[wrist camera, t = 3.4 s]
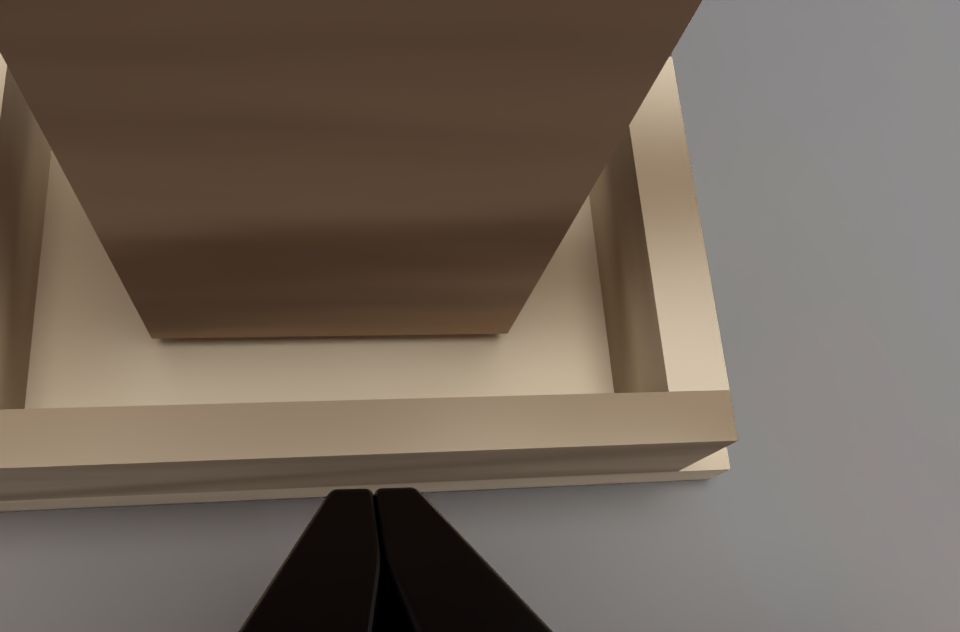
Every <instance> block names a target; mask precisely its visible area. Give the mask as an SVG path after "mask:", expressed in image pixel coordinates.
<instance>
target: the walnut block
mask: <svg viewBox="0 0 960 632" xmlns="http://www.w3.org/2000/svg"><path fill="white" fill-rule="evenodd" d="M701 1H702V0H0V53H1V55H2V57H3V59H4V60H5V62H6V64H7V66H8V68H9V70H10V72H11V74H12V76H13V77H14V79H15V81H16V83H17V85H18V87H19V89H20V91H21V93H22V94H23V96H24V98H25V100H26V102H27V104H28V106H29V108H30V110H31V111H32V113H33V115H34V117H35V119H36V121H37V123H38V125H39V127H40V128H41V130H42V132H43V134H44V136H45V138H46V140H47V142H48V144H49V145H50V147H51V149H52V151H53V153H54V155H55V157H56V159H57V161H58V162H59V164H60V166H61V168H62V170H63V172H64V174H65V176H66V178H67V179H68V181H69V183H70V185H71V187H72V189H73V191H74V193H75V195H76V196H77V198H78V200H79V202H80V204H81V206H82V208H83V210H84V211H85V213H86V215H87V217H88V219H89V221H90V223H91V225H92V227H93V228H94V230H95V232H96V234H97V236H98V238H99V240H100V242H101V244H102V245H103V247H104V249H105V251H106V253H107V255H108V257H109V259H110V261H111V262H112V264H113V266H114V268H115V270H116V272H117V274H118V276H119V278H120V279H121V281H122V283H123V285H124V287H125V289H126V291H127V293H128V295H129V296H130V298H131V300H132V302H133V304H134V306H135V308H136V310H137V312H138V313H139V315H140V317H141V319H142V321H143V323H144V325H145V327H146V329H147V330H148V332H149V334H150V336H151V338H152V339H159V338H230V337H301V336H372V335H443V334H508V332H509V331H510V329H511V327H512V325H513V324H514V322H515V320H516V319H517V317H518V315H519V313H520V312H521V310H522V308H523V307H524V305H525V303H526V301H527V300H528V298H529V296H530V295H531V293H532V291H533V289H534V288H535V286H536V284H537V283H538V281H539V279H540V277H541V276H542V274H543V272H544V271H545V269H546V267H547V265H548V264H549V262H550V260H551V259H552V257H553V255H554V253H555V252H556V250H557V248H558V247H559V245H560V243H561V241H562V240H563V238H564V236H565V235H566V233H567V231H568V229H569V228H570V226H571V224H572V223H573V221H574V219H575V217H576V216H577V214H578V212H579V211H580V209H581V207H582V205H583V204H584V202H585V200H586V199H587V197H588V195H589V193H590V192H591V190H592V188H593V187H594V185H595V183H596V181H597V180H598V178H599V176H600V175H601V173H602V171H603V169H604V168H605V166H606V164H607V163H608V161H609V159H610V157H611V156H612V154H613V152H614V151H615V149H616V147H617V145H618V144H619V142H620V140H621V139H622V137H623V135H624V133H625V132H626V130H627V128H628V127H629V125H630V123H631V121H632V120H633V118H634V116H635V115H636V113H637V111H638V109H639V108H640V106H641V104H642V103H643V101H644V99H645V97H646V96H647V94H648V92H649V91H650V89H651V87H652V85H653V84H654V82H655V80H656V79H657V77H658V75H659V73H660V72H661V70H662V68H663V67H664V65H665V63H666V61H667V60H668V58H669V56H670V55H671V53H672V51H673V49H674V48H675V46H676V44H677V43H678V41H679V39H680V37H681V36H682V34H683V32H684V31H685V29H686V27H687V25H688V24H689V22H690V20H691V19H692V17H693V15H694V13H695V12H696V10H697V8H698V7H699V5H700V3H701Z"/></svg>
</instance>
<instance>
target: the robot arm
mask: <svg viewBox="0 0 960 632" xmlns="http://www.w3.org/2000/svg"><path fill="white" fill-rule="evenodd" d="M239 632H553V631H552V630H551V629H550V628H549V627H548V626H547V625H546V624H545V623H544V622H543V621H542V620H541V619H540V618H539V617H538V616H537V615H536V613H535V612H534V611H533V610H532V609H531V608H530V607H529V606H528V605H527V604H526V603H525V602H524V601H523V600H522V599H521V598H520V597H519V596H518V595H517V594H516V592H515V591H514V590H513V589H512V588H511V587H510V586H509V585H508V584H507V583H506V582H505V581H504V580H503V579H502V578H501V577H500V576H499V575H498V574H497V573H496V571H495V570H494V569H493V568H492V567H491V566H490V565H489V564H488V563H487V562H486V561H485V560H484V559H483V558H482V557H481V556H480V555H479V554H478V553H477V552H476V550H475V549H474V548H473V547H472V546H471V545H470V544H469V543H468V542H467V541H466V540H465V539H464V538H463V537H462V536H461V535H460V534H459V533H458V532H457V531H456V530H455V528H454V527H453V526H452V525H451V524H450V523H449V522H448V521H447V520H446V519H445V518H444V517H443V516H442V515H441V514H440V513H439V512H438V511H437V510H436V509H435V507H434V506H433V505H432V504H431V503H430V502H429V501H428V500H427V499H426V498H425V497H424V496H423V495H422V494H421V493H420V492H419V491H418V490H417V489H415V488H412V487H402V488H379V489H378V490H376V491H375V493H374V495H373V493H372V491H371V490H369V489H366V488H363V489H334V490H332V491H331V492H330V493H329V494H328V495H327V497H326V498H325V500H324V501H323V503H322V504H321V506H320V507H319V509H318V511H317V512H316V514H315V515H314V517H313V518H312V520H311V521H310V523H309V524H308V526H307V527H306V529H305V530H304V532H303V534H302V535H301V537H300V538H299V540H298V541H297V543H296V544H295V546H294V547H293V549H292V550H291V552H290V554H289V555H288V557H287V558H286V560H285V561H284V563H283V564H282V566H281V567H280V569H279V570H278V572H277V573H276V575H275V577H274V578H273V580H272V581H271V583H270V584H269V586H268V587H267V589H266V590H265V592H264V593H263V595H262V597H261V598H260V600H259V601H258V603H257V604H256V606H255V607H254V609H253V610H252V612H251V613H250V615H249V617H248V618H247V620H246V621H245V623H244V624H243V626H242V627H241V629H240V630H239Z"/></svg>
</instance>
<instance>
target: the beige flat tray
mask: <svg viewBox="0 0 960 632" xmlns="http://www.w3.org/2000/svg"><path fill="white" fill-rule="evenodd" d="M736 441H738V436H737V430H736V425H735V419H734V413H733V407H732V401H731V396H730V390H729V384H728V378H727V372H726V367H725V361H724V355H723V349H722V344H721V338H720V332H719V326H718V320H717V315H716V309H715V303H714V297H713V292H712V286H711V280H710V274H709V268H708V263H707V257H706V251H705V245H704V240H703V234H702V228H701V222H700V216H699V211H698V205H697V199H696V193H695V188H694V182H693V176H692V170H691V164H690V159H689V153H688V147H687V141H686V136H685V130H684V124H683V118H682V112H681V107H680V101H679V95H678V89H677V84H676V78H675V72H674V66H673V60H672V55H670V56H669V58H668V60H667V61H666V63H665V65H664V67H663V68H662V70H661V72H660V73H659V75H658V77H657V79H656V80H655V82H654V84H653V85H652V87H651V89H650V91H649V92H648V94H647V96H646V97H645V99H644V101H643V103H642V104H641V106H640V108H639V109H638V111H637V113H636V115H635V116H634V118H633V120H632V121H631V123H630V125H629V127H628V128H627V130H626V132H625V133H624V135H623V137H622V139H621V140H620V142H619V144H618V145H617V147H616V149H615V151H614V152H613V154H612V156H611V157H610V159H609V161H608V163H607V164H606V166H605V168H604V169H603V171H602V173H601V175H600V176H599V178H598V180H597V181H596V183H595V185H594V187H593V188H592V190H591V192H590V193H589V195H588V197H587V199H586V200H585V202H584V204H583V205H582V207H581V209H580V211H579V212H578V214H577V216H576V217H575V219H574V221H573V223H572V224H571V226H570V228H569V229H568V231H567V233H566V235H565V236H564V238H563V240H562V241H561V243H560V245H559V247H558V248H557V250H556V252H555V253H554V255H553V257H552V259H551V260H550V262H549V264H548V265H547V267H546V269H545V271H544V272H543V274H542V276H541V277H540V279H539V281H538V283H537V284H536V286H535V288H534V289H533V291H532V293H531V295H530V296H529V298H528V300H527V301H526V303H525V305H524V307H523V308H522V310H521V312H520V313H519V315H518V317H517V319H516V320H515V322H514V324H513V325H512V327H511V329H510V331H509V332H508V334H443V335H372V336H301V337H230V338H159V339H152V338H151V336H150V334H149V332H148V330H147V329H146V327H145V325H144V323H143V321H142V319H141V317H140V315H139V313H138V312H137V310H136V308H135V306H134V304H133V302H132V300H131V298H130V296H129V295H128V293H127V291H126V289H125V287H124V285H123V283H122V281H121V279H120V278H119V276H118V274H117V272H116V270H115V268H114V266H113V264H112V262H111V261H110V259H109V257H108V255H107V253H106V251H105V249H104V247H103V245H102V244H101V242H100V240H99V238H98V236H97V234H96V232H95V230H94V228H93V227H92V225H91V223H90V221H89V219H88V217H87V215H86V213H85V211H84V210H83V208H82V206H81V204H80V202H79V200H78V198H77V196H76V195H75V193H74V191H73V189H72V187H71V185H70V183H69V181H68V179H67V178H66V176H65V174H64V172H63V170H62V168H61V166H60V164H59V162H58V161H57V159H56V157H55V155H54V153H53V151H52V149H51V147H50V145H49V144H48V142H47V140H46V138H45V136H44V134H43V132H42V130H41V128H40V127H39V125H38V123H37V121H36V119H35V117H34V115H33V113H32V111H31V110H30V108H29V106H28V104H27V102H26V100H25V98H24V96H23V94H22V93H21V91H20V89H19V87H18V85H17V83H16V81H15V79H14V77H13V76H12V74H11V72H10V70H9V68H8V66H7V64H6V62H5V60H4V59H3V57H2V55H1V53H0V512H2V511H24V510H45V509H67V508H89V507H111V506H133V505H155V504H177V503H199V502H221V501H242V500H264V499H286V498H308V497H327V495H328V494H329V493H330V492H331V491H332V490H334V489H363V488H366V489H369V490H371V491H372V493H373V495H374V493H375V491H376V490H378V489H379V488H402V487H412V488H415V489H417V490H418V491H419V492H439V491H461V490H483V489H505V488H527V487H549V486H571V485H593V484H615V483H636V482H658V481H680V480H702V479H710V478H712V477H714V476H716V475H719V474H721V473H723V472H725V471H727V470H730V464H729V458H728V452H727V446H729V445H731V444H732V443H734V442H736Z"/></svg>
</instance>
